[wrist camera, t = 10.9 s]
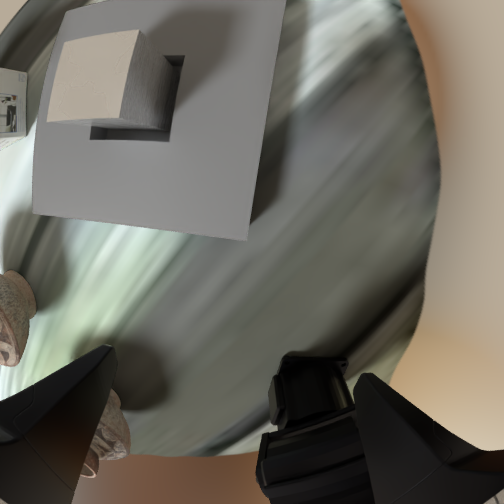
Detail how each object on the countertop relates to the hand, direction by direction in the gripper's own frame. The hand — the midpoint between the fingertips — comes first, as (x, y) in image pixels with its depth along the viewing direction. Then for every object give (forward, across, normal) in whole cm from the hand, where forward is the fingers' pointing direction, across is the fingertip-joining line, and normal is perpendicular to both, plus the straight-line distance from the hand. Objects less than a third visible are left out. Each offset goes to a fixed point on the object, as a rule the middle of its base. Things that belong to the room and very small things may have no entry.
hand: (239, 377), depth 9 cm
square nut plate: (+12, +8, -10) cm, 18 cm away
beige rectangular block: (+11, +8, -10) cm, 17 cm away
